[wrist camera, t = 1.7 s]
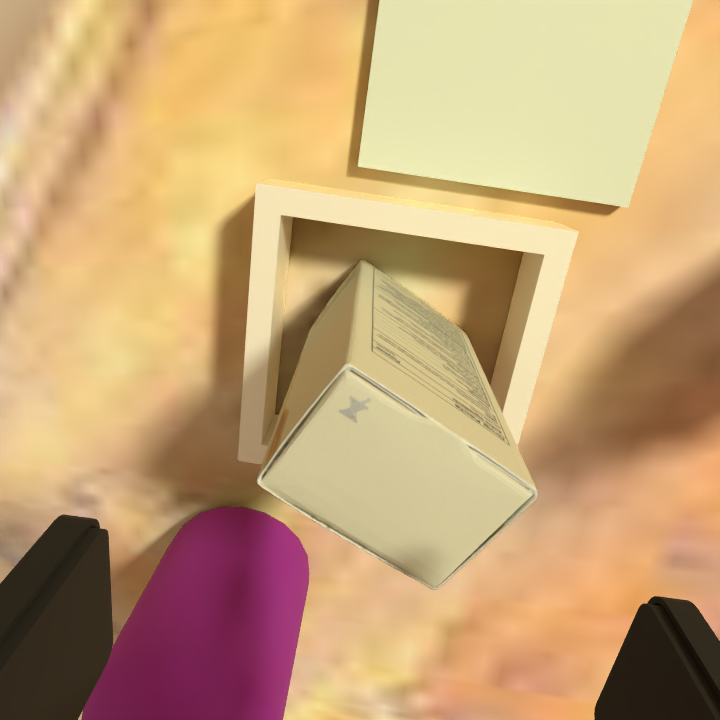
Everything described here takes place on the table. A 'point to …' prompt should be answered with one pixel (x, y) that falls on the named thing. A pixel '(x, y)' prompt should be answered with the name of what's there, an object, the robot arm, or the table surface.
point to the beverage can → (211, 626)
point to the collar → (292, 199)
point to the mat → (520, 92)
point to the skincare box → (396, 434)
